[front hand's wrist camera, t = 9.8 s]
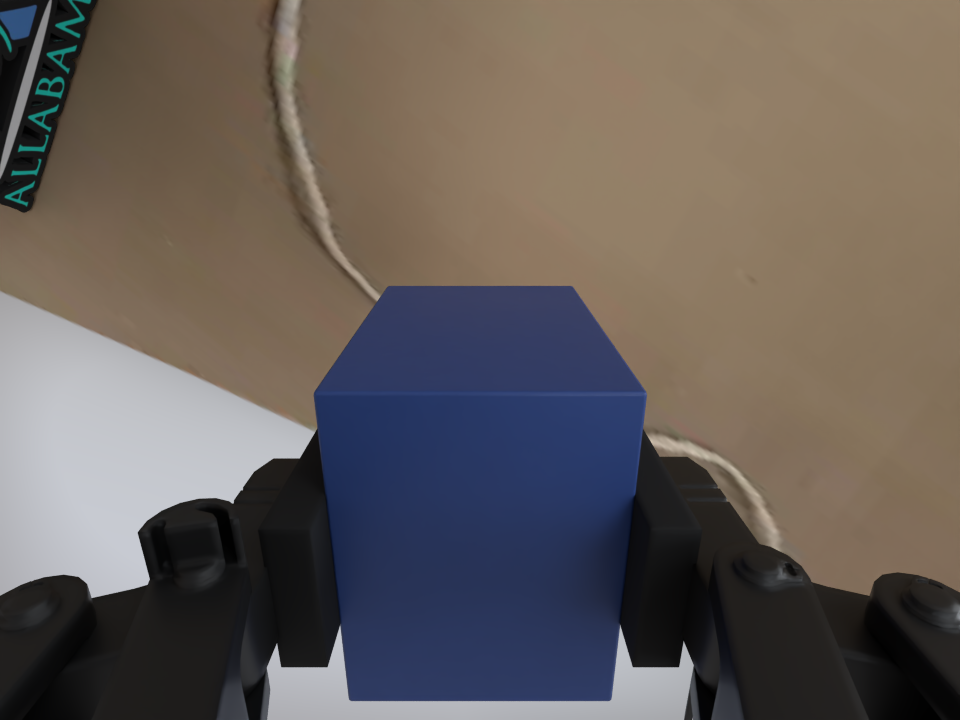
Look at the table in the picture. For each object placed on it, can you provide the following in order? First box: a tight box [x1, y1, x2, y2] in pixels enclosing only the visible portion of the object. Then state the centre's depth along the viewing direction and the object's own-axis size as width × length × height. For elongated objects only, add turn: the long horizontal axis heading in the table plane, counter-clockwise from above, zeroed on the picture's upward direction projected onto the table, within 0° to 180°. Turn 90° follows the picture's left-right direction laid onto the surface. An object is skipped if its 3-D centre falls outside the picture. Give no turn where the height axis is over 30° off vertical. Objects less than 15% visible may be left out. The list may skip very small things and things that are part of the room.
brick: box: [314, 286, 647, 701], centre depth 13 cm, size 5×6×7 cm
